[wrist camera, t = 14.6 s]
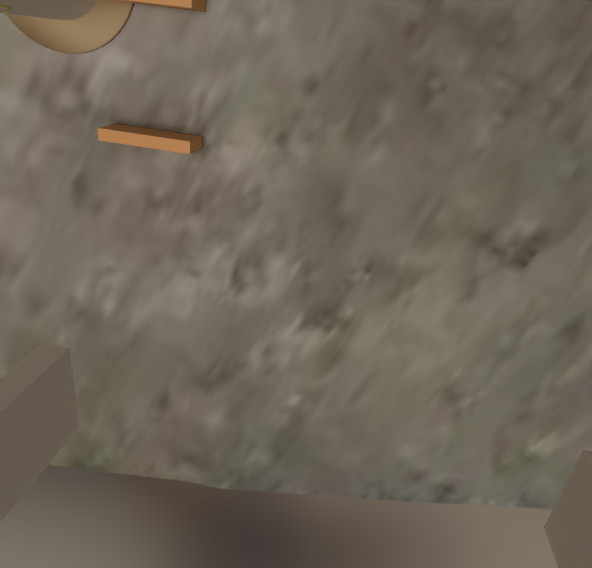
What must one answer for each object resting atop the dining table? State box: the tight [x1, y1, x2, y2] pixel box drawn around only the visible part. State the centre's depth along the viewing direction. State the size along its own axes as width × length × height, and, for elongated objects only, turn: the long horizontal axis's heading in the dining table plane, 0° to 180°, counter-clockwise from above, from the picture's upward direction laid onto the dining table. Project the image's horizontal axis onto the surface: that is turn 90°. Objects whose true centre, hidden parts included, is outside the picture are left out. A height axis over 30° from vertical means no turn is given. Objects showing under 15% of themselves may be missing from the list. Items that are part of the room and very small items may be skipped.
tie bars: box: [98, 0, 206, 154], centre depth 38 cm, size 12×8×3 cm
